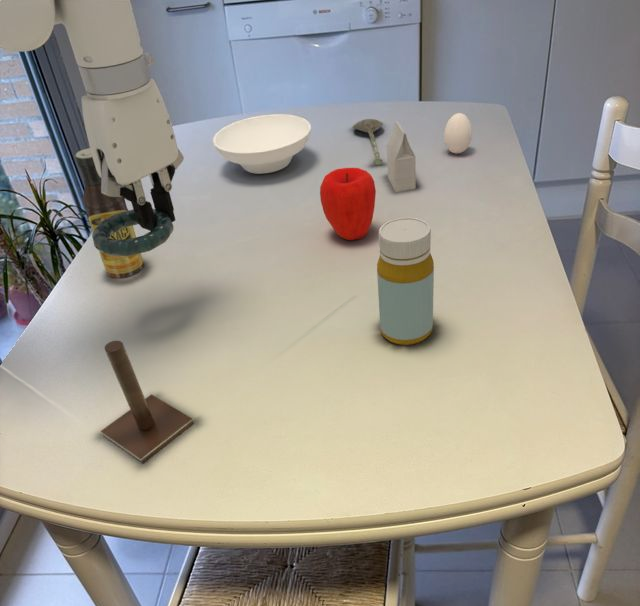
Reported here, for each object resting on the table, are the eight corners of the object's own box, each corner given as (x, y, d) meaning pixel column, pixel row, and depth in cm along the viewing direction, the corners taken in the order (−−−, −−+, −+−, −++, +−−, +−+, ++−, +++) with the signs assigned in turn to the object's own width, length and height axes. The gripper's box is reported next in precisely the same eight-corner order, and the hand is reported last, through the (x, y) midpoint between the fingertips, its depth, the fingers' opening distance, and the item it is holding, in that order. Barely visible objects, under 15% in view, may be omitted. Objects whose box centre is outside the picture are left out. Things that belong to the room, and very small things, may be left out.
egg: (448, 146, 129) (449, 107, 124) (474, 148, 127) (476, 109, 122) (439, 157, 126) (440, 118, 121) (466, 159, 124) (468, 119, 119)
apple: (314, 240, 108) (306, 177, 101) (347, 218, 112) (342, 156, 105) (355, 254, 103) (350, 189, 96) (388, 230, 108) (386, 166, 100)
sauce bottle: (108, 287, 105) (61, 165, 91) (108, 268, 109) (63, 149, 95) (148, 278, 105) (107, 156, 91) (147, 260, 110) (107, 140, 96)
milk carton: (395, 192, 117) (394, 136, 110) (387, 177, 122) (385, 122, 115) (415, 189, 117) (415, 132, 110) (407, 174, 122) (406, 119, 115)
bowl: (305, 186, 123) (300, 150, 119) (208, 189, 127) (200, 154, 122) (322, 145, 137) (318, 111, 132) (234, 149, 141) (227, 116, 136)
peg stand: (103, 436, 79) (62, 353, 70) (153, 400, 83) (120, 316, 74) (143, 464, 75) (105, 379, 66) (194, 424, 79) (165, 338, 70)
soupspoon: (381, 127, 142) (352, 132, 143) (380, 110, 140) (350, 116, 141) (394, 163, 126) (361, 169, 126) (393, 146, 124) (359, 152, 124)
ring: (80, 245, 86) (74, 231, 84) (141, 213, 91) (137, 199, 90) (127, 266, 80) (122, 252, 79) (190, 231, 86) (186, 217, 84)
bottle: (370, 331, 88) (363, 230, 78) (409, 310, 91) (407, 209, 80) (403, 354, 84) (401, 250, 74) (443, 332, 86) (446, 228, 76)
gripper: (149, 53, 81) (184, 194, 94) (38, 93, 73) (93, 242, 85) (188, 59, 77) (220, 206, 90) (76, 103, 69) (127, 257, 82)
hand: (157, 223), depth 87 cm, fingers closed on ring, 2 cm apart
